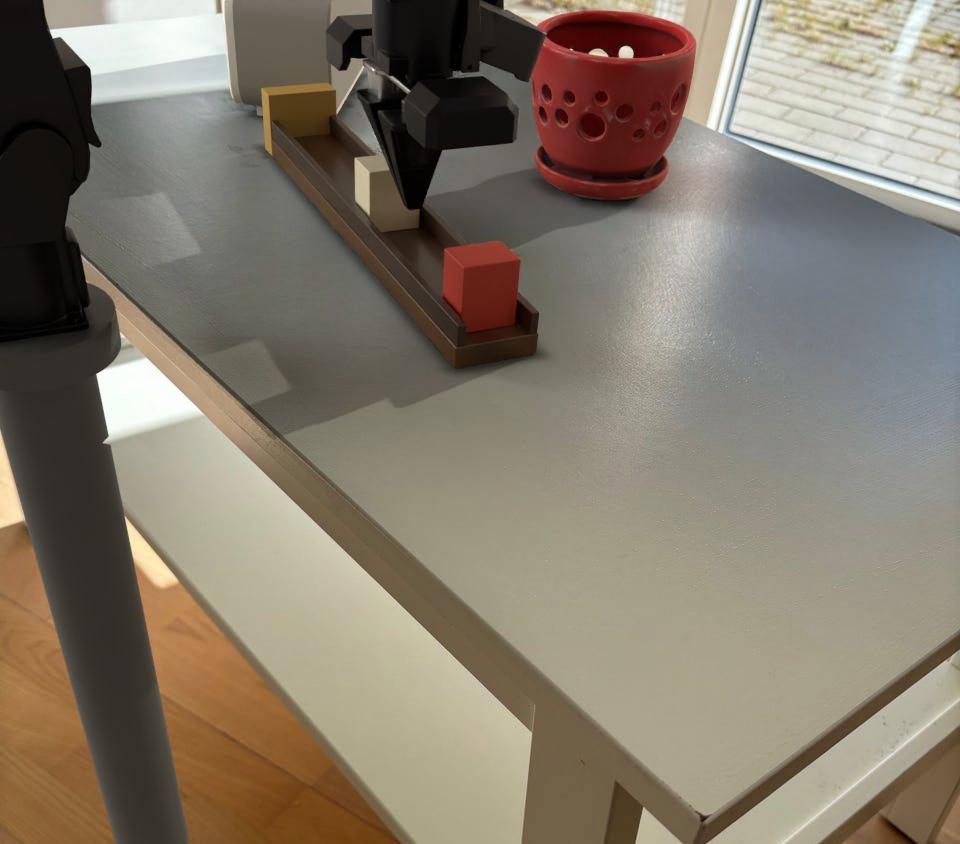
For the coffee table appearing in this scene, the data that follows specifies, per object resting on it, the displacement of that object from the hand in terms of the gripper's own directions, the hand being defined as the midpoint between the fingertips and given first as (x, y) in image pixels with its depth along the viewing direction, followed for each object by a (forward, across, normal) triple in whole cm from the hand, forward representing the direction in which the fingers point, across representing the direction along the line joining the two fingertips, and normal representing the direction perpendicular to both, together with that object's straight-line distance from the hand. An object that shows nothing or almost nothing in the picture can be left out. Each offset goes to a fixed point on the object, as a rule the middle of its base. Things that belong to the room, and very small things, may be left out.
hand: (413, 207), depth 77 cm
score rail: (+5, +5, 0) cm, 7 cm away
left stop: (+5, +25, 0) cm, 25 cm away
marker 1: (+3, +5, 0) cm, 6 cm away
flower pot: (+5, +11, -22) cm, 25 cm away
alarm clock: (+5, +42, -7) cm, 43 cm away
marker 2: (+3, -11, 0) cm, 12 cm away
